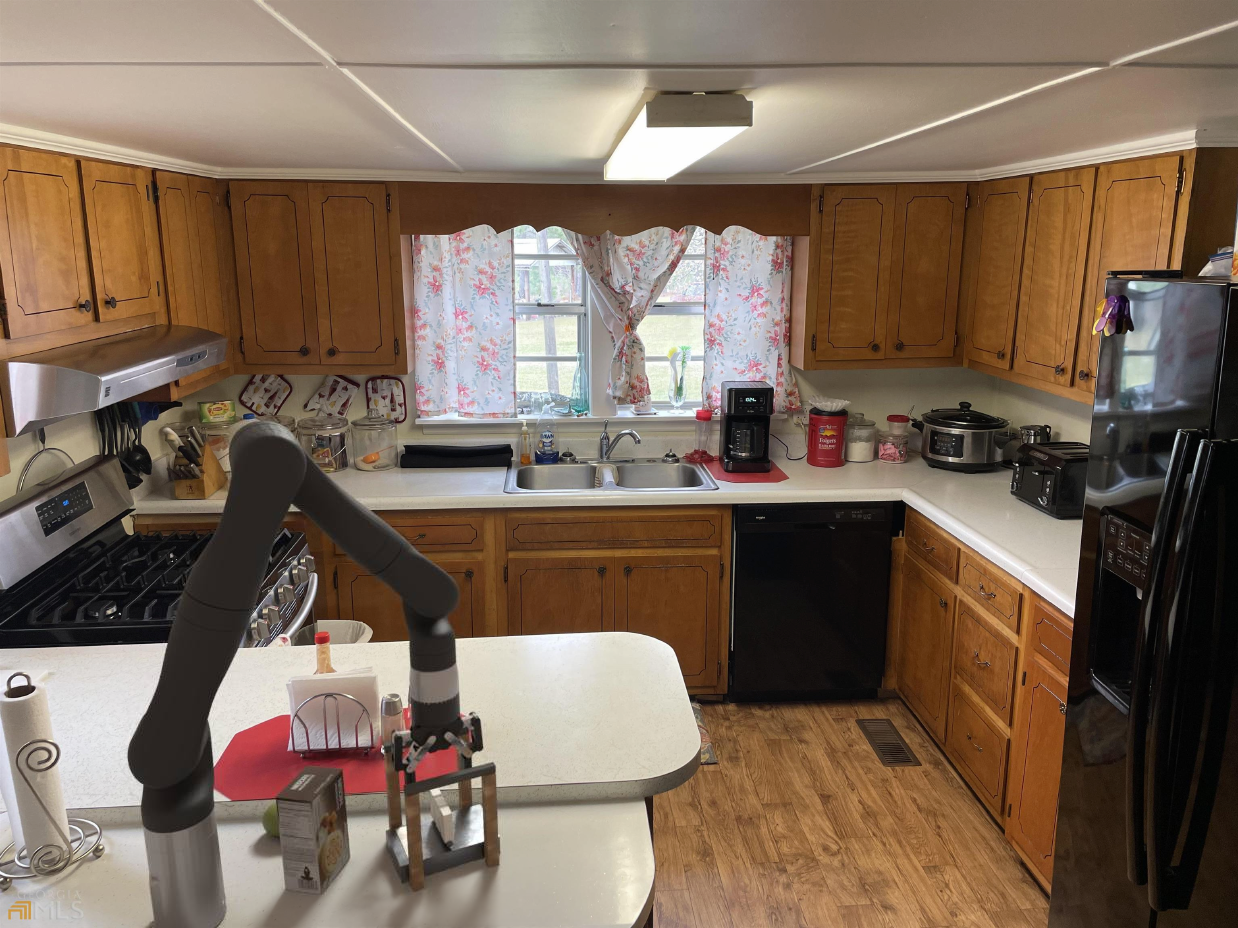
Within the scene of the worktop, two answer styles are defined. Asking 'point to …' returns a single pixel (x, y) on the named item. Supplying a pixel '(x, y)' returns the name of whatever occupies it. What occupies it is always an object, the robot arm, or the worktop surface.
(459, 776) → the grey crossbeam plank
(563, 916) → the worktop surface
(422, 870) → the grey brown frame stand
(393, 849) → the breaker panel
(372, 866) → the worktop surface
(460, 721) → the robot arm
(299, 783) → the coffee box
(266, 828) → the green eggplant
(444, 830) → the bar
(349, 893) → the worktop surface
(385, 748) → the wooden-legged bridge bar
